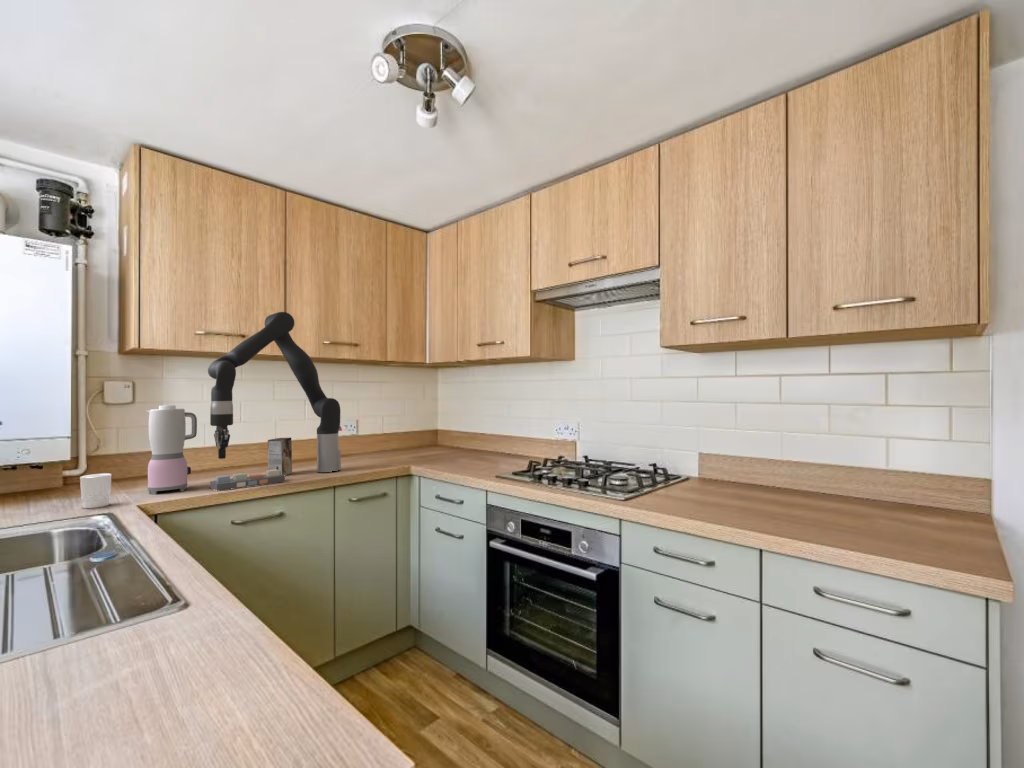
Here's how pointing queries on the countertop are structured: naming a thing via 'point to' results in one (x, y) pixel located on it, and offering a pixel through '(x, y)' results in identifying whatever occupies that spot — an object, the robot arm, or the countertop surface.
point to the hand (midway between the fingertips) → (221, 458)
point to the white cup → (95, 490)
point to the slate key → (222, 479)
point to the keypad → (246, 482)
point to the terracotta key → (256, 476)
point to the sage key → (239, 476)
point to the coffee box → (280, 455)
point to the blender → (168, 448)
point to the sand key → (272, 472)
